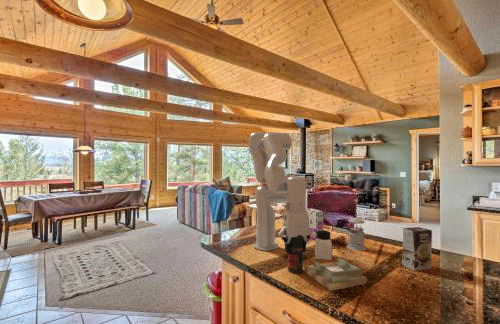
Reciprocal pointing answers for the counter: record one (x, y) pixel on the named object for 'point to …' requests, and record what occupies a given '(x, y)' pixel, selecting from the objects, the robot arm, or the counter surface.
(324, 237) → the medicine bottle
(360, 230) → the french press
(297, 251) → the deodorant
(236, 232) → the counter surface
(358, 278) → the dock
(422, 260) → the coffee box
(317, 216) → the candy bar box
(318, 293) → the counter surface
